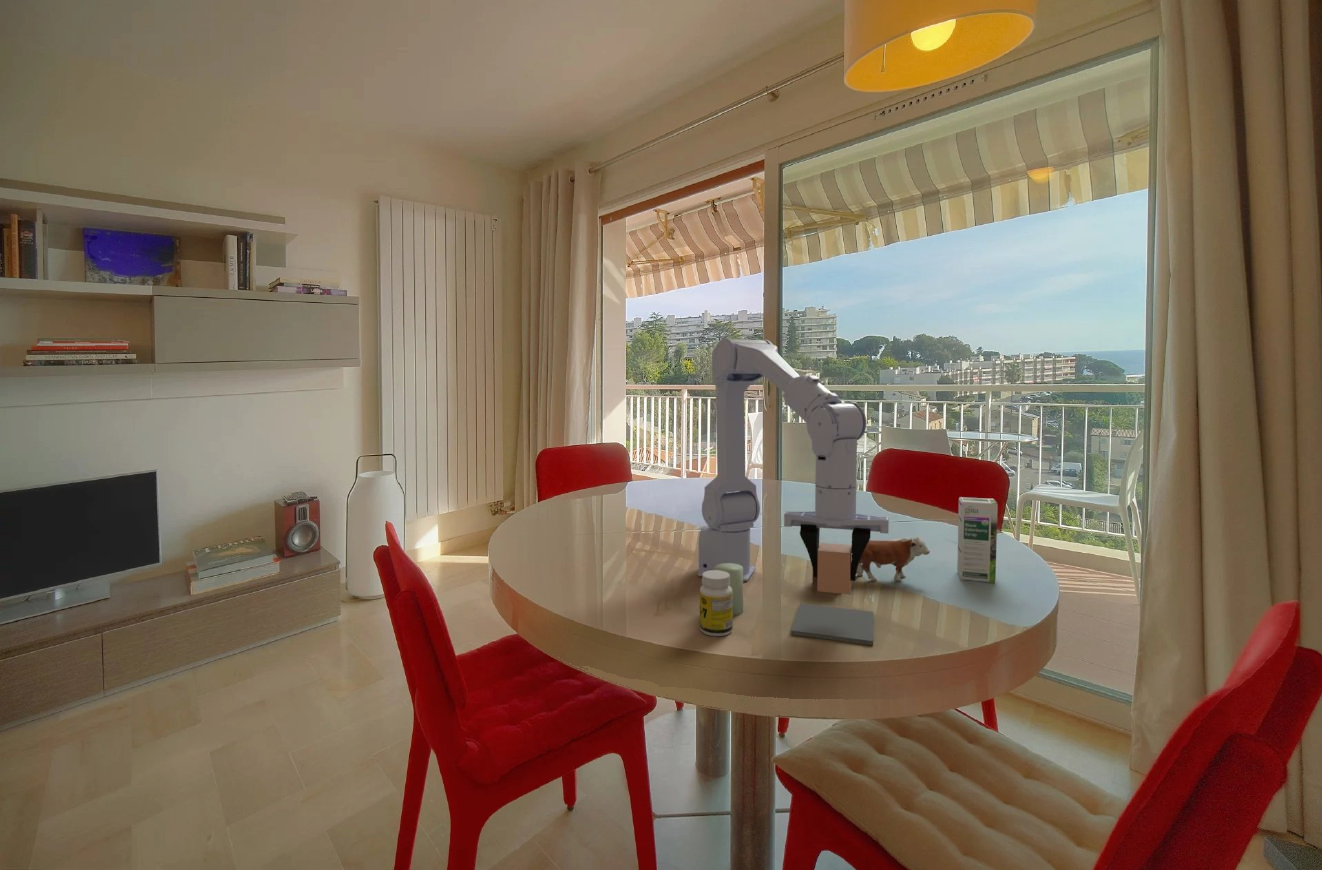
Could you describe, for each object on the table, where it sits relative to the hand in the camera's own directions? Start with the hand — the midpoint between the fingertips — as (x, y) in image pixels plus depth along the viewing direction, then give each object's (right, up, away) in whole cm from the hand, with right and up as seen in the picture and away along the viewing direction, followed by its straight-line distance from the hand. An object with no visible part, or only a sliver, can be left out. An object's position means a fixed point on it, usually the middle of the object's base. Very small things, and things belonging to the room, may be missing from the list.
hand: (834, 577), depth 86 cm
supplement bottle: (-18, -8, -1) cm, 19 cm away
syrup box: (+32, -5, +21) cm, 39 cm away
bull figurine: (+16, -6, +21) cm, 27 cm away
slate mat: (0, -7, +1) cm, 7 cm away
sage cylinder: (-15, -7, +7) cm, 18 cm away
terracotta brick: (0, -2, 0) cm, 2 cm away
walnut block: (+4, -6, +17) cm, 18 cm away
